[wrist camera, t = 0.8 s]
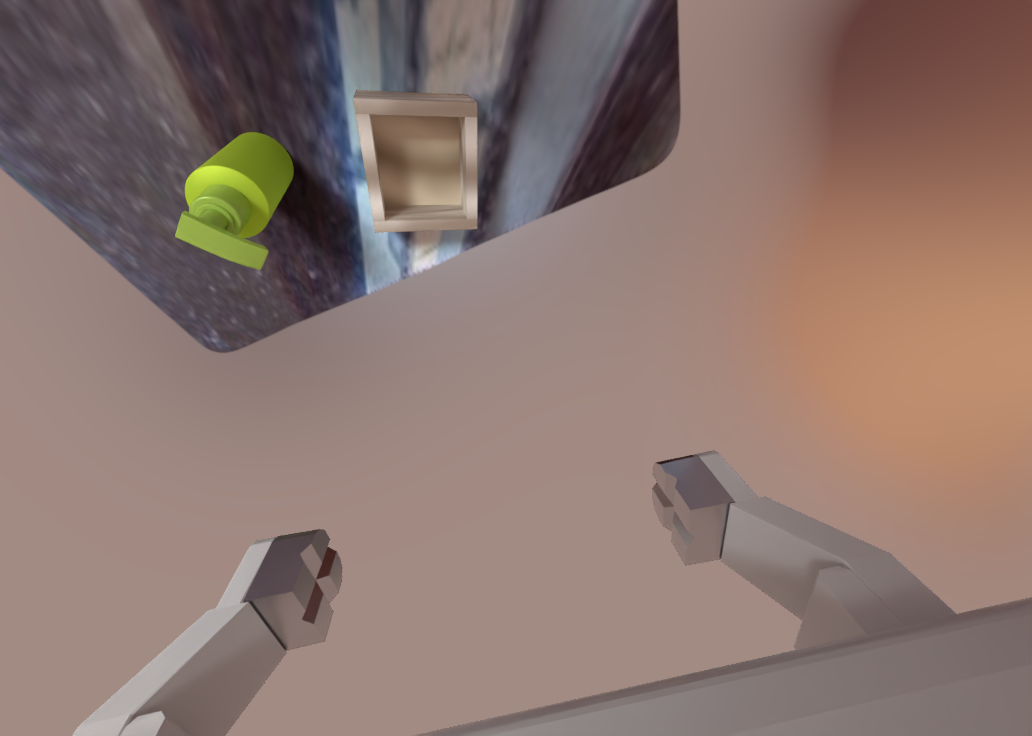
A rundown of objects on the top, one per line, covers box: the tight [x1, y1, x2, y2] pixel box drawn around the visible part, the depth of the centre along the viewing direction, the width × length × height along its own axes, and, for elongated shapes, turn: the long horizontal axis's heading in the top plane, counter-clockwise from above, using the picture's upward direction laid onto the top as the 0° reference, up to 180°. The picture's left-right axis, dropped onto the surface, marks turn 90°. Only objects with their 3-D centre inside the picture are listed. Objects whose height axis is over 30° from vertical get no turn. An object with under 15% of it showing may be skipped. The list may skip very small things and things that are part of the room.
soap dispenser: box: [175, 132, 294, 270], centre depth 36 cm, size 6×7×20 cm
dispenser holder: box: [353, 90, 477, 233], centre depth 44 cm, size 12×11×6 cm
